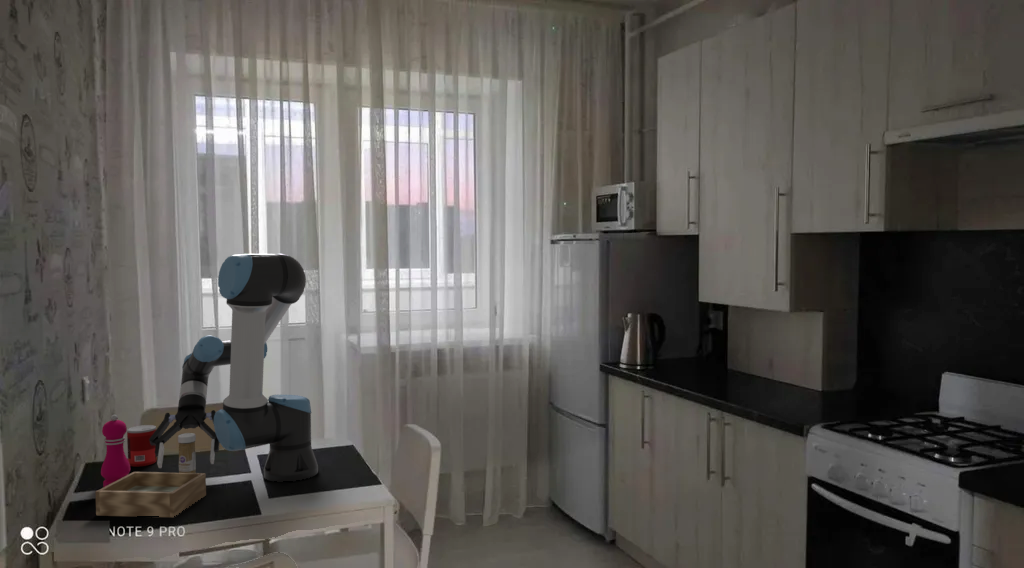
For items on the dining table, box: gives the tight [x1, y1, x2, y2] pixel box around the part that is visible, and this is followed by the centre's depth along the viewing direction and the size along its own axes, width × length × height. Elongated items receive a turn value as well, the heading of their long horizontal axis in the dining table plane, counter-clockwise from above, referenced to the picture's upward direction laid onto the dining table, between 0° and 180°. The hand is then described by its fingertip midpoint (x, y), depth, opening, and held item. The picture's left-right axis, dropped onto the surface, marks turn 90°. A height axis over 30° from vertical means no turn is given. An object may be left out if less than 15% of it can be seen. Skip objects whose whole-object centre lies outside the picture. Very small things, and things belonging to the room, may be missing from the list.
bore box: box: [95, 471, 207, 518], centre depth 187 cm, size 20×16×6 cm
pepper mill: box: [100, 414, 131, 488], centre depth 202 cm, size 7×7×20 cm
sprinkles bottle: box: [177, 432, 197, 473], centre depth 206 cm, size 5×5×14 cm
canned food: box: [126, 424, 158, 468], centre depth 224 cm, size 8×8×11 cm
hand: (185, 463), depth 204 cm, fingers open, 13 cm apart
